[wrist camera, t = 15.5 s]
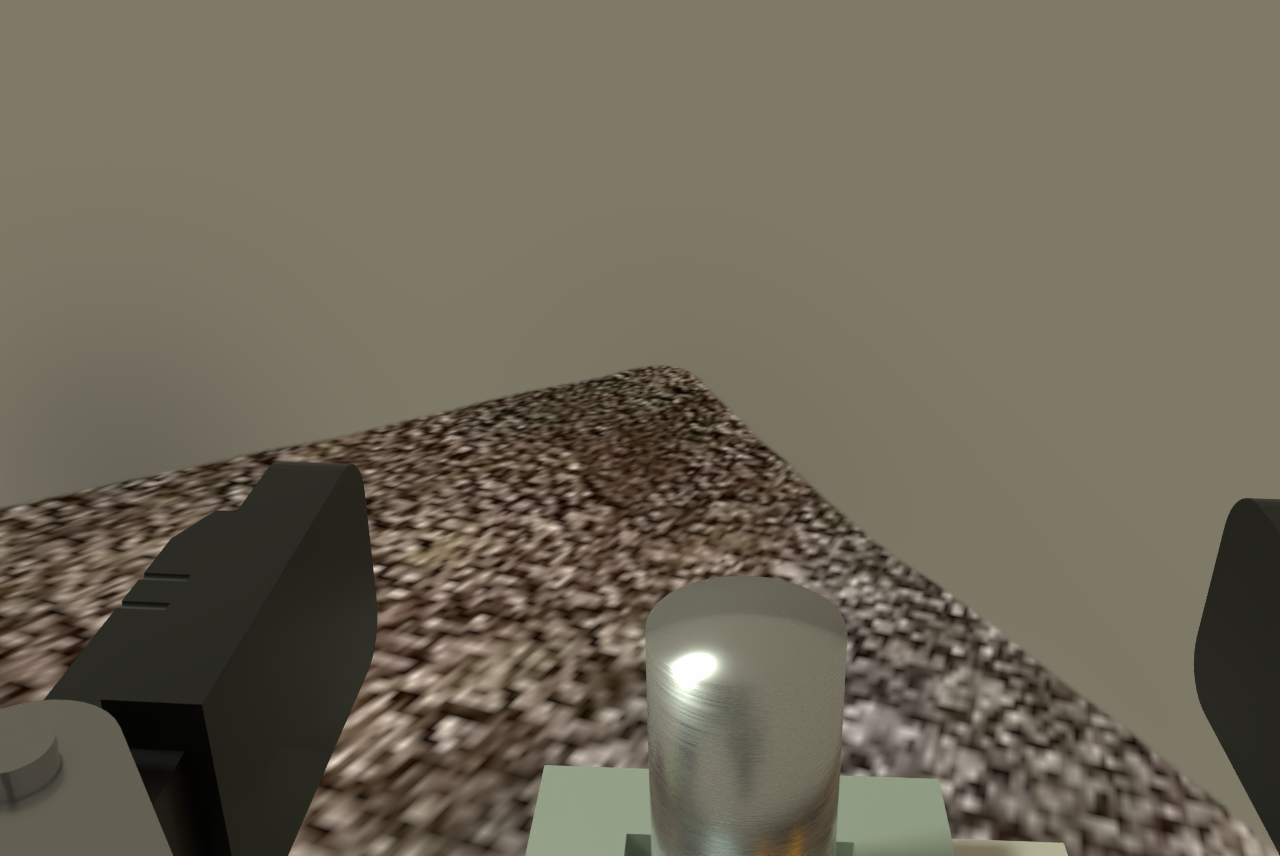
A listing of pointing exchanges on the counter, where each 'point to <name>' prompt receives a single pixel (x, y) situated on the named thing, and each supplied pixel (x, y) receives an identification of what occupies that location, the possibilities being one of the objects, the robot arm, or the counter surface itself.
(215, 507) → the counter surface
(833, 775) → the steel shaft
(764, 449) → the counter surface
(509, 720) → the counter surface
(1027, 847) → the pale green square frame
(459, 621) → the counter surface
